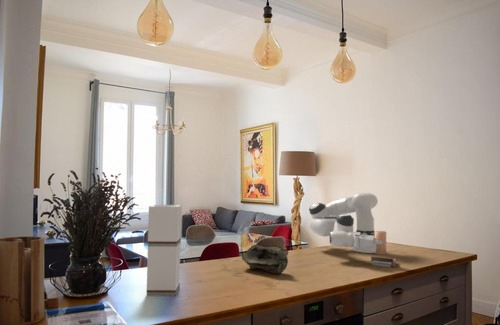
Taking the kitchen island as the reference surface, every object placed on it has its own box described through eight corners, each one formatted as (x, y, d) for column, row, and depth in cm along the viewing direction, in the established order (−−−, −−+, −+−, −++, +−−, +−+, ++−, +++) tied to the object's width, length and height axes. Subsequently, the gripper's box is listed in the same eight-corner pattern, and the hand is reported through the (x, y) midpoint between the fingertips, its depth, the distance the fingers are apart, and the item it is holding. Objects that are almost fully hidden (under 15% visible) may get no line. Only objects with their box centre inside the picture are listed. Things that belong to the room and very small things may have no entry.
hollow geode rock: (287, 286, 180) (302, 260, 187) (274, 270, 174) (290, 244, 181) (249, 273, 201) (263, 251, 208) (236, 259, 195) (252, 236, 202)
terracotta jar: (376, 251, 213) (376, 230, 213) (386, 252, 211) (386, 231, 211) (375, 253, 208) (375, 231, 208) (386, 254, 206) (386, 232, 206)
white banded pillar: (179, 287, 158) (181, 205, 160) (175, 295, 147) (177, 206, 149) (152, 287, 157) (154, 204, 159) (146, 295, 147) (148, 206, 149)
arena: (371, 260, 218) (371, 256, 218) (396, 262, 213) (396, 258, 213) (369, 265, 206) (369, 260, 206) (395, 267, 201) (395, 263, 201)
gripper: (359, 242, 224) (383, 244, 219) (355, 248, 205) (381, 249, 200) (359, 232, 224) (383, 233, 219) (355, 236, 205) (381, 238, 200)
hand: (382, 241), depth 209 cm, fingers closed on terracotta jar, 5 cm apart
